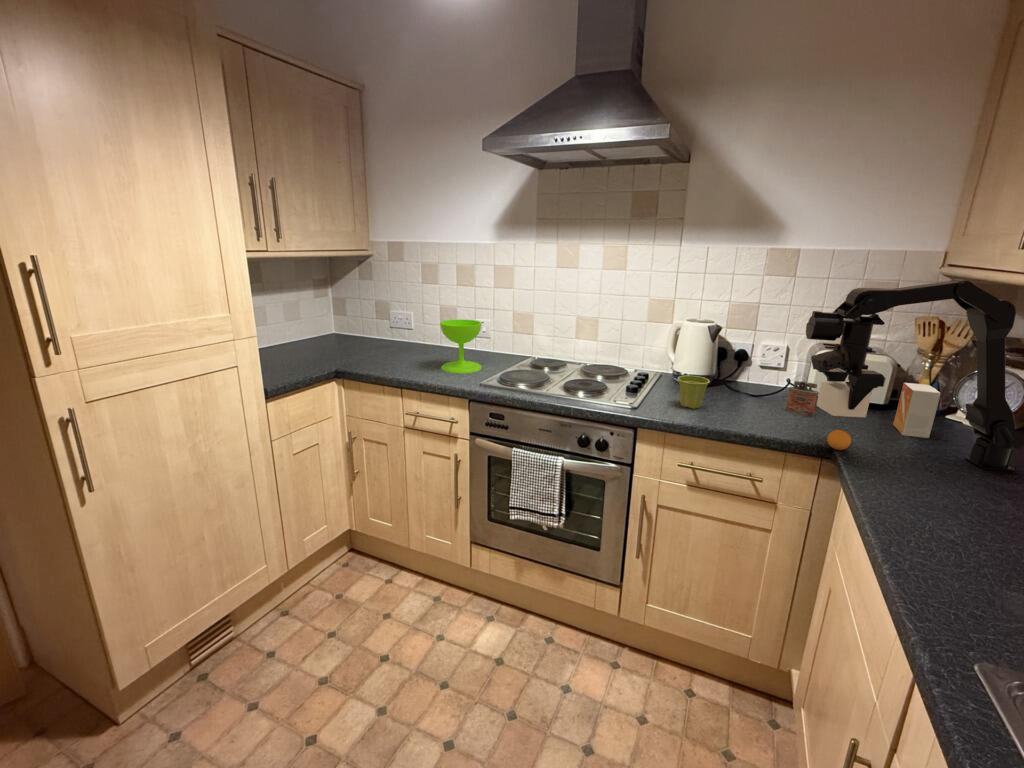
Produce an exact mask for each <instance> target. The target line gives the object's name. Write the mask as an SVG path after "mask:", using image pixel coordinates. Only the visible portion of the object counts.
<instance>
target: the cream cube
mask: <svg viewBox="0 0 1024 768" xmlns="http://www.w3.org/2000/svg"><path fill="white" fill-rule="evenodd" d="M845 382H846V381H845ZM845 382H838V381H827V380H821V382H820V387H819V391H818V392H819V394H818V395H817V400H816V405H815V407H818V408H819V409H821V410H822V411H825V412H826V413H827V414H830V415H831V416H833V417H853V418H867V413H868V410H869V409H868V408H869V405H870V401H871V399H872V398H871V396H872V392H873V390H872V391H871V392H870V393H869V394H868V395H867V396H866V397H865V398H864V399H863V400H862V401H861V402H860V403H859V404H858V405H857V406H856V407H855V409H853V410H850V409H848V402H849V392H850V388H849V387H848V385H847V384H846V383H845Z"/></svg>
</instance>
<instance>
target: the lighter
mask: <svg viewBox="0 0 1024 768" xmlns="http://www.w3.org/2000/svg"><path fill="white" fill-rule="evenodd" d="M793 382H794V383H793V386H789V387H788V394H787V399H786V407H784V411H785V412H789V413H791V414H795V415H800V416H804V415H805V417H811V416H812V417H815V414H816V413H815V410H816V404H817V400H818V395H819V391H818V390H814V389H817V388H818V384H817V383H816V382H815V383H814V382H807V381H806V380H802V381H800V380H794V381H793Z"/></svg>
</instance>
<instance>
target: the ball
mask: <svg viewBox="0 0 1024 768" xmlns="http://www.w3.org/2000/svg"><path fill="white" fill-rule="evenodd" d="M826 440H827V444H828V445H829V446H830V447H831V448H832V449H834V450H837V451H842V450H846V449H847V448H849V446H851V444H852V438H851V436H850V434H849V433H848V432H846V431H845V430H841V429H837V430H836V429H835V430H832V431H831V432H829V433H828V436H827V439H826Z"/></svg>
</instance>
